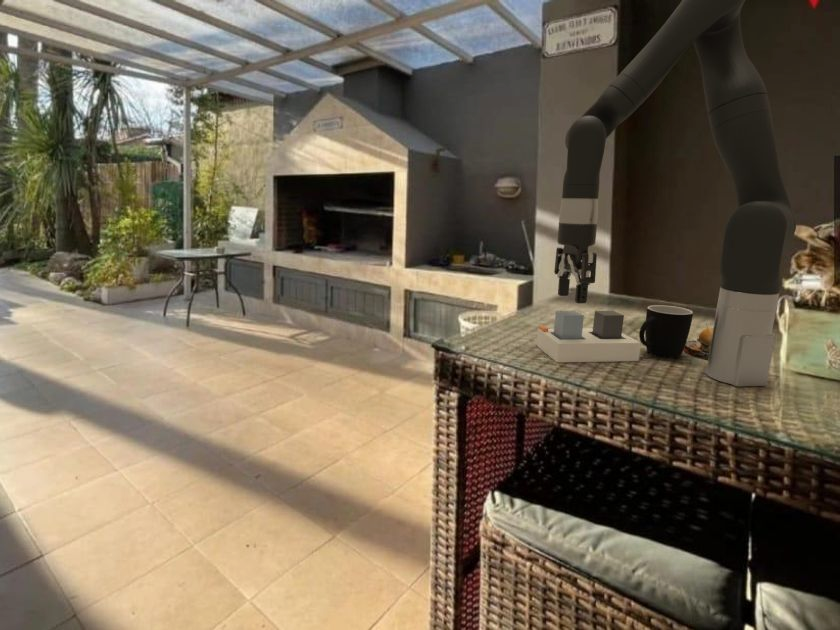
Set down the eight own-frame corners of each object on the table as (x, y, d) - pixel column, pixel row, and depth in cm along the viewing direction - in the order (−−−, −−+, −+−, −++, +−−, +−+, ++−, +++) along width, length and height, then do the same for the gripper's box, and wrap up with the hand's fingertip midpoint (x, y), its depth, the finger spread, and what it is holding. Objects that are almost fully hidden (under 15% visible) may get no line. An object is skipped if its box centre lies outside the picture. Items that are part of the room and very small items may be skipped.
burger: (753, 365, 104) (759, 331, 102) (692, 360, 106) (697, 327, 104) (730, 349, 115) (735, 318, 114) (675, 345, 118) (680, 314, 116)
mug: (661, 346, 115) (668, 304, 113) (695, 358, 107) (703, 312, 105) (622, 351, 111) (627, 307, 108) (654, 363, 103) (660, 316, 100)
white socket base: (638, 361, 104) (644, 319, 102) (556, 362, 102) (560, 320, 100) (610, 344, 116) (614, 307, 114) (536, 345, 113) (539, 307, 111)
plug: (580, 351, 106) (583, 315, 104) (560, 352, 106) (564, 315, 104) (571, 345, 110) (574, 310, 109) (552, 346, 110) (555, 310, 108)
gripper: (612, 223, 95) (604, 305, 99) (579, 220, 109) (573, 293, 112) (576, 222, 94) (569, 306, 98) (547, 220, 108) (541, 293, 111)
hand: (571, 299), depth 105 cm, fingers open, 8 cm apart
